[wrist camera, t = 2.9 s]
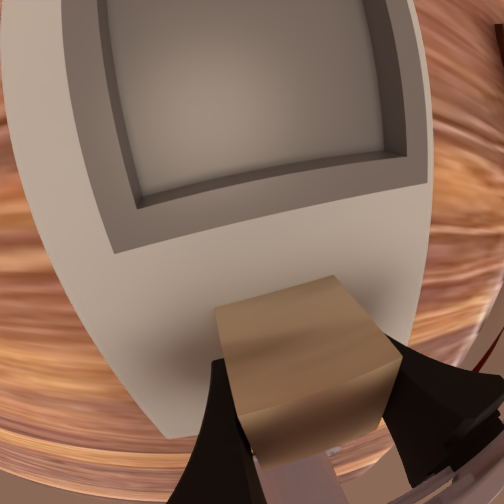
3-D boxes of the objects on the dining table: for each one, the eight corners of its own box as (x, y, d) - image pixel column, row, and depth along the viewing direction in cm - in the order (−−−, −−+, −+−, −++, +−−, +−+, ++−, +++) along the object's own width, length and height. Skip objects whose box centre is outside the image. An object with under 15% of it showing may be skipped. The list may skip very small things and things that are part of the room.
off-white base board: (397, 362, 17) (400, 367, 17) (166, 433, 15) (167, 439, 15) (384, -59, 6) (390, -62, 5) (9, -14, 4) (4, -17, 3)
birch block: (332, 354, 14) (376, 429, 10) (238, 383, 13) (262, 470, 9) (333, 274, 12) (402, 356, 7) (213, 307, 11) (237, 416, 7)
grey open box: (361, 159, 10) (427, 182, 7) (136, 206, 9) (114, 254, 6) (327, -35, 6) (380, -72, 3) (97, -11, 5) (64, -58, 2)
